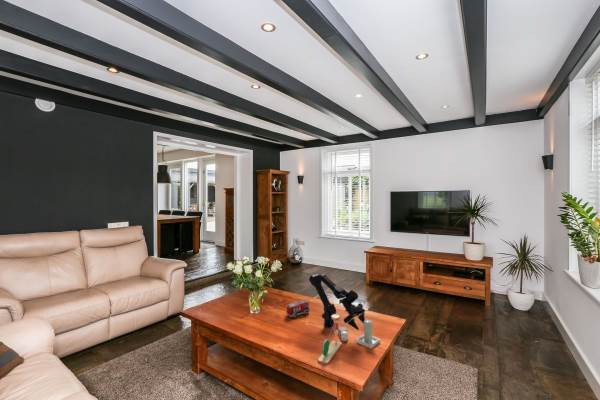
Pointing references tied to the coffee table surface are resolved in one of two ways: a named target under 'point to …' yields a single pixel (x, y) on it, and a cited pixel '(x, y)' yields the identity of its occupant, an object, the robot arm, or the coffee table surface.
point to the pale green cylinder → (367, 331)
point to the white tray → (369, 345)
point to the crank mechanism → (330, 349)
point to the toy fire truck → (298, 308)
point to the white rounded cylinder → (344, 336)
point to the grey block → (341, 330)
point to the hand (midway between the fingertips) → (362, 327)
